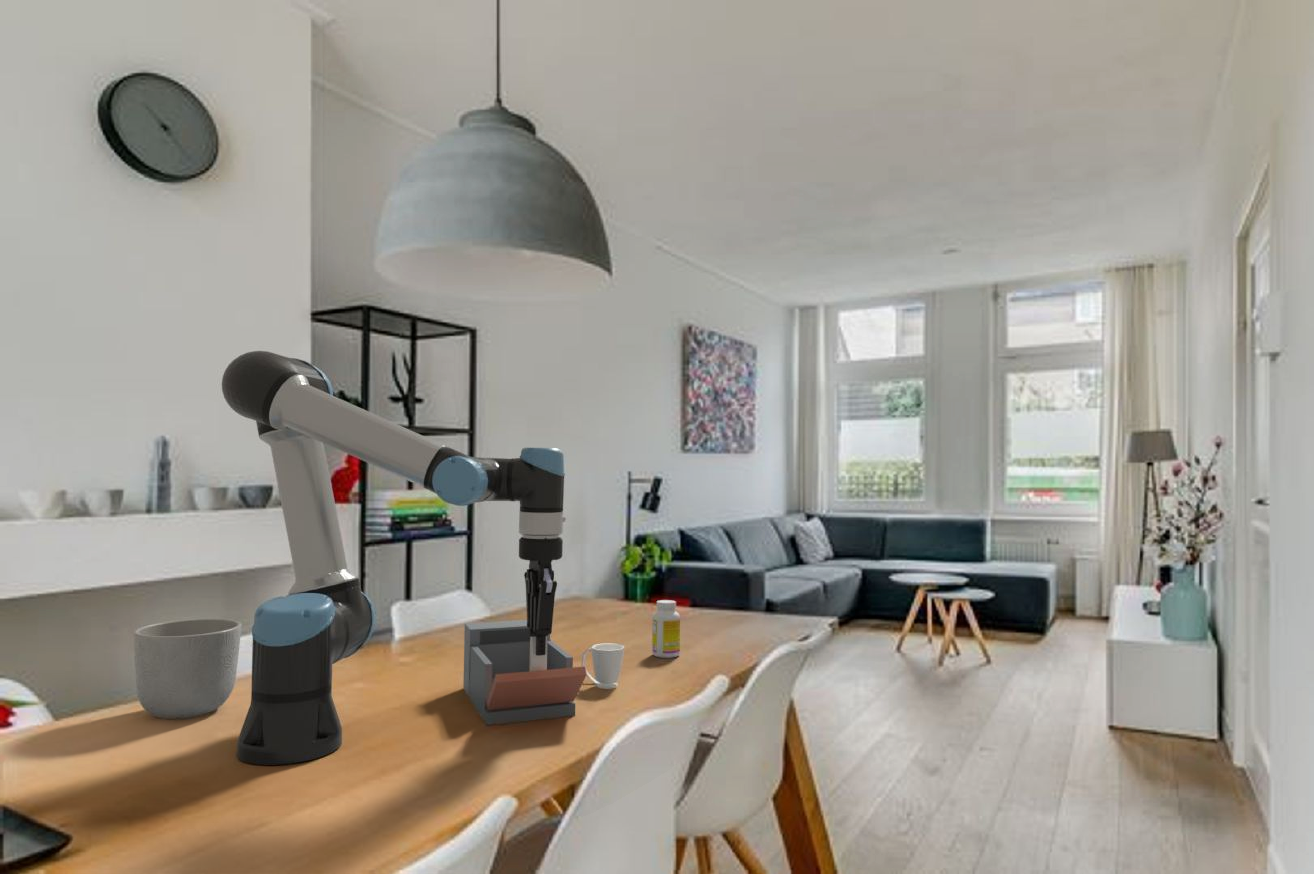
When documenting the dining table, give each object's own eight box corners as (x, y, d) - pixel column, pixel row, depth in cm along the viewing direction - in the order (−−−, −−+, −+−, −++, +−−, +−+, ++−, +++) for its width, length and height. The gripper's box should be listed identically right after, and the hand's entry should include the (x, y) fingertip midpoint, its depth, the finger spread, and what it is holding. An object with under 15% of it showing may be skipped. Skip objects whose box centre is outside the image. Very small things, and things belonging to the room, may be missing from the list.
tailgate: (487, 711, 142) (496, 682, 135) (486, 703, 143) (495, 674, 136) (573, 702, 148) (586, 674, 141) (571, 694, 149) (585, 666, 142)
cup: (611, 692, 162) (611, 651, 163) (571, 684, 168) (572, 645, 168) (631, 684, 168) (631, 645, 169) (592, 677, 174) (592, 639, 174)
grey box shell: (469, 697, 158) (470, 629, 158) (463, 688, 164) (464, 623, 165) (549, 689, 164) (550, 624, 164) (540, 681, 170) (541, 618, 171)
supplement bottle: (685, 654, 196) (685, 600, 197) (670, 659, 191) (671, 604, 191) (661, 650, 200) (662, 598, 200) (646, 655, 194) (647, 601, 195)
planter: (222, 693, 158) (224, 614, 159) (252, 713, 146) (255, 627, 147) (120, 711, 147) (123, 626, 147) (143, 733, 134) (146, 641, 135)
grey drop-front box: (486, 724, 141) (487, 666, 142) (469, 697, 158) (470, 645, 158) (575, 715, 147) (576, 659, 148) (549, 689, 164) (550, 639, 164)
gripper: (572, 539, 137) (569, 680, 136) (552, 532, 149) (549, 662, 148) (528, 540, 134) (525, 684, 133) (511, 533, 146) (508, 665, 145)
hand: (538, 672), depth 141 cm, fingers closed
